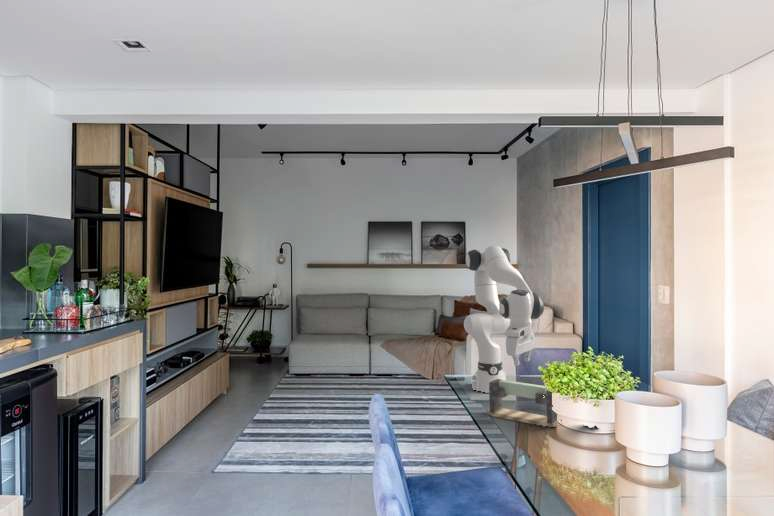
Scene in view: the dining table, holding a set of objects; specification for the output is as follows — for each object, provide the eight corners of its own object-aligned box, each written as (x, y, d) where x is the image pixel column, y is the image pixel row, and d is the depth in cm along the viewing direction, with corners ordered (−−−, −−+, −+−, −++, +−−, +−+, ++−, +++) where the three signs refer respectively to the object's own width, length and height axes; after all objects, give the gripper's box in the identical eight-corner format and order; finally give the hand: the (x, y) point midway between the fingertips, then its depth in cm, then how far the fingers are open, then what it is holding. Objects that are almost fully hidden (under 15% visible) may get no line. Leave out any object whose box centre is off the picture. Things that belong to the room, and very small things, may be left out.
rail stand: (487, 415, 212) (486, 382, 212) (496, 410, 218) (495, 378, 218) (554, 428, 193) (553, 392, 193) (562, 422, 199) (561, 387, 199)
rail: (499, 393, 211) (499, 381, 211) (502, 391, 213) (502, 379, 213) (545, 400, 198) (544, 388, 198) (548, 398, 200) (547, 386, 200)
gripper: (524, 325, 215) (525, 357, 216) (502, 332, 200) (503, 366, 200) (538, 326, 211) (539, 359, 212) (517, 333, 196) (518, 368, 196)
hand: (521, 363), depth 206 cm, fingers open, 8 cm apart
